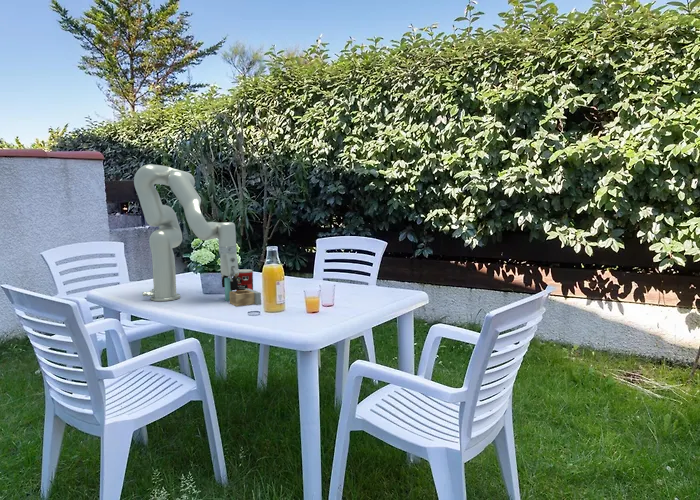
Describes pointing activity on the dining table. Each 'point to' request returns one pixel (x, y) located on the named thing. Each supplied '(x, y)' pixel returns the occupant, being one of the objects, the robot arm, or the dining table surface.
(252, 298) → the wooden open box
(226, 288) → the dowel
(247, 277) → the canned food
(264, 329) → the dining table surface
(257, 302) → the wall
